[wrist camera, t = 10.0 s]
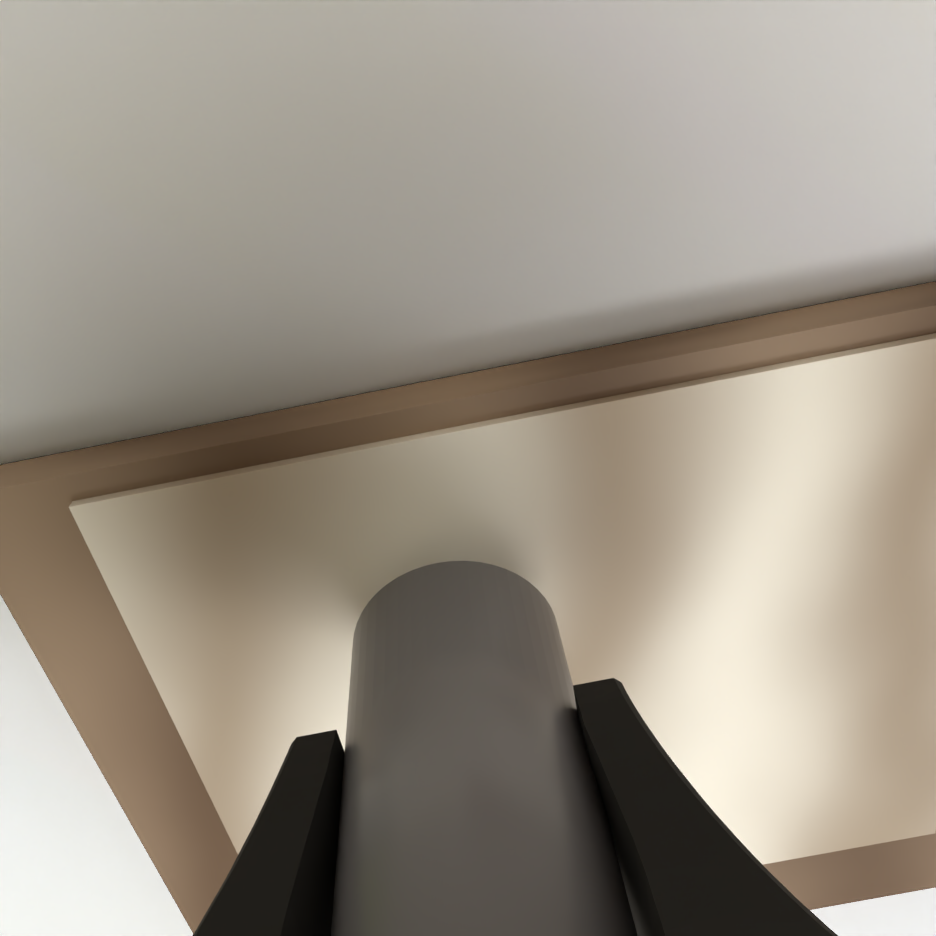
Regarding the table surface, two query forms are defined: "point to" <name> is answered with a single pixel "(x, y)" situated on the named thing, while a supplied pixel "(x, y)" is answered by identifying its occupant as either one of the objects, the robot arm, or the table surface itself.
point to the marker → (469, 770)
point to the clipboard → (530, 577)
